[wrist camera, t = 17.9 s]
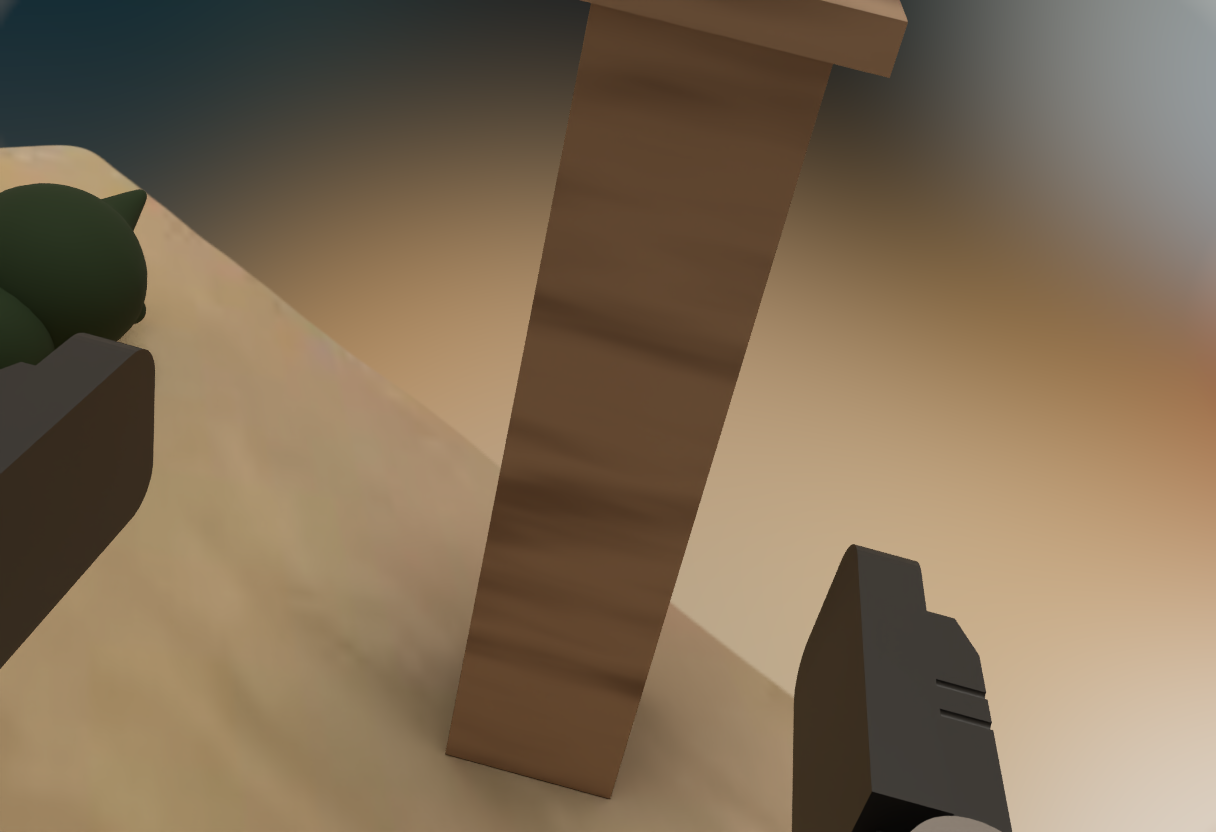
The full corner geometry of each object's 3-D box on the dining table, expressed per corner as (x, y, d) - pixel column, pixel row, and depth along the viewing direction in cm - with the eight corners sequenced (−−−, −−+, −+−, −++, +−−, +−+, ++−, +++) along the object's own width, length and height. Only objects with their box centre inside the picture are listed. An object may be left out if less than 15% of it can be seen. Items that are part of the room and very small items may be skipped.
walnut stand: (642, 827, 47) (980, -200, 28) (403, 761, 47) (581, -297, 29) (666, 677, 55) (944, -206, 36) (461, 622, 55) (631, -281, 36)
